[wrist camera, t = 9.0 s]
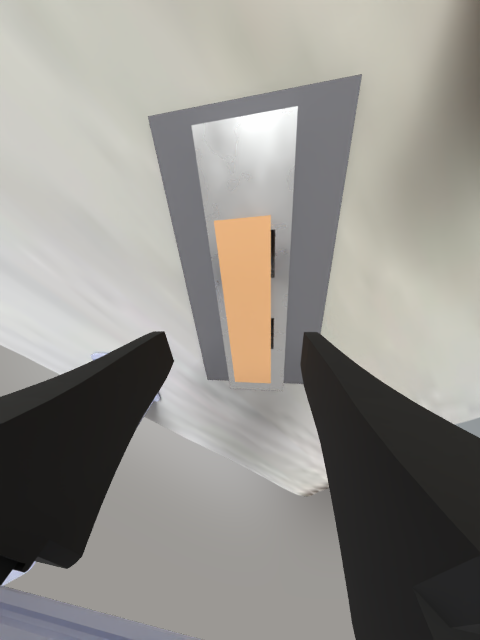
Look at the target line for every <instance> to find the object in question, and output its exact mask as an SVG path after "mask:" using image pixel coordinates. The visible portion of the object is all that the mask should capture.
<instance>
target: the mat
mask: <svg viewBox="0 0 480 640" xmlns="http://www.w3.org/2000/svg"><path fill="white" fill-rule="evenodd" d="M361 77H362V74H360V75H355V76H350V77H345V78H340V79H335V80H330V81H325V82H320V83H315V84H310V85H305V86H300V87H294V88H289V89H284V90H279V91H274V92H269V93H264V94H259V95H254V96H249V97H244V98H239V99H234V100H229V101H224V102H218V103H213V104H208V105H203V106H198V107H193V108H188V109H183V110H178V111H173V112H168V113H163V114H158V115H153V116H148V119H149V123H150V128H151V132H152V137H153V141H154V145H155V150H156V154H157V159H158V163H159V167H160V172H161V176H162V181H163V185H164V190H165V194H166V198H167V203H168V207H169V212H170V216H171V220H172V225H173V229H174V234H175V238H176V242H177V247H178V251H179V256H180V260H181V264H182V269H183V273H184V278H185V282H186V287H187V291H188V295H189V300H190V304H191V309H192V313H193V317H194V322H195V326H196V331H197V335H198V339H199V344H200V348H201V353H202V357H203V362H204V366H205V370H206V375H207V379H208V380H229V376H228V369H227V362H226V356H225V349H224V342H223V335H222V328H221V322H220V315H219V308H218V301H217V295H216V288H215V281H214V274H213V268H212V261H211V254H210V247H209V241H208V234H207V227H206V220H205V214H204V207H203V200H202V193H201V187H200V180H199V173H198V166H197V160H196V153H195V146H194V139H193V133H192V126H191V125H197V124H202V123H208V122H213V121H219V120H224V119H230V118H235V117H241V116H246V115H252V114H257V113H263V112H268V111H274V110H279V109H285V108H290V107H296V106H298V112H297V132H296V151H295V170H294V189H293V209H292V228H291V247H290V266H289V285H288V305H287V324H286V343H285V362H284V382H283V383H299V384H303V379H302V373H301V366H300V362H301V353H302V344H303V335H304V332H318V333H319V334H320V333H321V327H322V321H323V314H324V308H325V302H326V296H327V289H328V283H329V277H330V271H331V264H332V258H333V252H334V246H335V240H336V233H337V227H338V221H339V215H340V208H341V202H342V196H343V190H344V183H345V177H346V171H347V165H348V158H349V152H350V146H351V140H352V133H353V127H354V121H355V115H356V108H357V102H358V96H359V90H360V83H361ZM273 232H274V230H271V269H273ZM271 333H273V318H271Z"/></svg>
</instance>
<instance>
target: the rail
mask: <svg viewBox="0 0 480 640" xmlns="http://www.w3.org/2000/svg"><path fill="white" fill-rule="evenodd" d="M297 112H298V106H296V107H290V108H285V109H279V110H274V111H268V112H263V113H257V114H252V115H246V116H241V117H235V118H230V119H224V120H219V121H213V122H208V123H202V124H197V125H191V126H192V133H193V139H194V146H195V153H196V160H197V166H198V173H199V180H200V187H201V193H202V200H203V207H204V214H205V220H206V227H207V234H208V241H209V247H210V254H211V261H212V268H213V274H214V281H215V288H216V295H217V301H218V308H219V315H220V322H221V328H222V335H223V342H224V349H225V356H226V362H227V369H228V376H229V383H230V388H233V389H253V390H274V391H283V382H284V362H285V343H286V324H287V305H288V285H289V266H290V247H291V228H292V209H293V189H294V170H295V151H296V132H297ZM267 215H271V230H274V232H273V269H271V318H273V333H271V383H249V382H235V378H234V370H233V363H232V355H231V347H230V340H229V332H228V325H227V317H226V310H225V302H224V295H223V287H222V280H221V272H220V265H219V257H218V249H217V242H216V234H215V227H214V221H217V220H227V219H237V218H247V217H257V216H267Z"/></svg>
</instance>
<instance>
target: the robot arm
mask: <svg viewBox="0 0 480 640" xmlns="http://www.w3.org/2000/svg"><path fill="white" fill-rule="evenodd" d="M91 357H92V359H93V361H91V362H89V363H87V364H85V365H83V366H80V367H78V368H76V369H74V370H71V371H69V372H66V373H64V374H62V375H59V376H57V377H54V378H52V379H49V380H47V381H44V382H41V383H38V384H36V385H33V386H30V387H28V388H25V389H22V390H19V391H16V392H13V393H11V394H8V395H5V396H2V397H0V640H203V639H199V638H196V637H192V636H188V635H184V634H181V633H177V632H173V631H170V630H166V629H162V628H158V627H155V626H151V625H147V624H143V623H140V622H136V621H132V620H128V619H125V618H121V617H117V616H113V615H109V614H106V613H102V612H98V611H95V610H91V609H87V608H84V607H80V606H76V605H72V604H69V603H65V602H61V601H57V600H54V599H50V598H46V597H42V596H39V595H35V594H31V593H28V592H24V591H20V590H16V589H13V588H9V587H5V586H3V585H5V584H7V583H9V582H11V581H13V580H14V579H16V578H18V577H20V576H21V575H23V574H25V573H27V572H28V571H29V570H30V569H31V568H32V567H33V566H34V564H35V563H36V562H40V563H45V564H49V565H53V566H57V567H62V568H66V569H67V568H69V567H71V566H72V565H74V564H75V563H76V562H77V561H78V560H79V559H80V558H81V557H82V555H83V552H84V550H85V547H86V544H87V541H88V539H89V536H90V534H91V531H92V528H93V526H94V523H95V521H96V518H97V515H98V513H99V510H100V508H101V505H102V503H103V500H104V498H105V495H106V493H107V491H108V488H109V486H110V484H111V481H112V479H113V477H114V474H115V472H116V470H117V468H118V466H119V464H120V461H121V459H122V457H123V455H124V452H125V450H126V448H127V446H128V444H129V442H130V440H131V438H132V436H133V434H134V432H135V430H136V428H137V427H138V425H139V424H140V422H141V420H142V418H143V417H144V416H145V414H146V413H147V411H148V409H149V408H150V406H151V405H152V403H153V401H159V400H160V396H159V394H158V392H159V390H160V388H161V387H162V385H163V383H164V382H165V380H166V378H167V376H168V374H169V372H170V370H171V367H172V365H173V362H174V360H173V357H172V354H171V350H170V347H169V344H168V341H167V338H166V335H165V332H152V333H149V334H147V335H144V336H142V337H140V338H138V339H136V340H134V341H132V342H130V343H128V344H126V345H124V346H122V347H120V348H118V349H116V350H114V351H112V352H110V353H93V354H92V355H91ZM300 366H301V373H302V379H303V384H304V388H305V391H306V394H307V398H308V401H309V405H310V408H311V411H312V415H313V418H314V421H315V425H316V428H317V431H318V435H319V439H320V443H321V448H322V453H323V458H324V463H325V467H326V472H327V478H328V483H329V488H330V493H331V499H332V504H333V510H334V515H335V521H336V527H337V532H338V538H339V543H340V549H341V556H342V561H343V568H344V574H345V580H346V586H347V592H348V598H349V605H350V612H351V618H352V624H353V629H354V634H355V638H356V640H480V438H479V437H477V436H475V435H473V434H471V433H469V432H467V431H465V430H463V429H461V428H460V427H458V426H456V425H454V424H452V423H450V422H449V421H447V420H445V419H443V418H441V417H440V416H438V415H436V414H434V413H432V412H431V411H429V410H427V409H425V408H424V407H422V406H420V405H418V404H417V403H415V402H413V401H412V400H410V399H408V398H407V397H405V396H404V395H402V394H400V393H399V392H397V391H396V390H394V389H392V388H391V387H389V386H388V385H386V384H385V383H383V382H382V381H380V380H379V379H377V378H376V377H374V376H373V375H371V374H370V373H369V372H367V371H366V370H364V369H363V368H362V367H360V366H359V365H358V364H356V363H355V362H354V361H352V360H351V359H350V358H348V357H347V356H346V355H345V354H343V353H342V352H341V351H340V350H338V349H337V348H336V347H335V346H334V345H332V344H331V343H330V342H329V341H328V340H327V339H325V338H324V337H323V336H322V335H321V334H319V333H318V332H304V335H303V344H302V353H301V362H300Z"/></svg>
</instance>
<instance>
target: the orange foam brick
mask: <svg viewBox="0 0 480 640" xmlns="http://www.w3.org/2000/svg"><path fill="white" fill-rule="evenodd" d="M214 227H215V234H216V242H217V249H218V257H219V265H220V272H221V280H222V287H223V295H224V302H225V310H226V317H227V325H228V332H229V340H230V347H231V355H232V363H233V370H234V378H235V382H249V383H271V215H267V216H257V217H247V218H237V219H227V220H217V221H214Z"/></svg>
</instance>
